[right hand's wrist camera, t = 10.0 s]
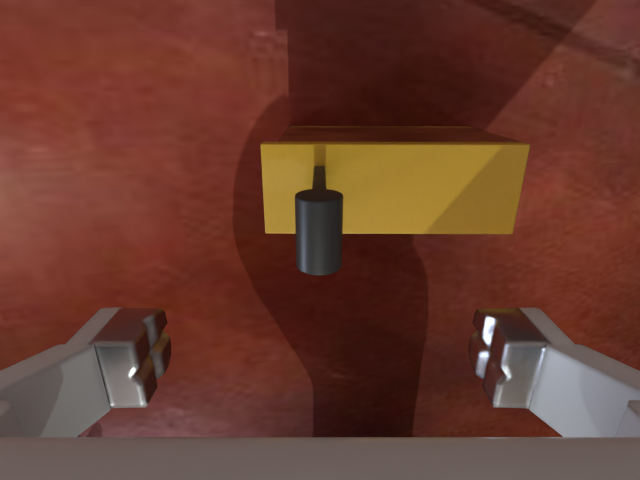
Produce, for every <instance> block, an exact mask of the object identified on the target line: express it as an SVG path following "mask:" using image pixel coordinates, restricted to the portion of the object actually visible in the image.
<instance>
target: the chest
mask: <svg viewBox="0 0 640 480" xmlns="http://www.w3.org/2000/svg"><path fill="white" fill-rule="evenodd" d="M278 142H519V141H516V140H512V139H509V138H506V137H502V136H499V135H495V134H492V133H489V132H485V131H482V130H478V129H475V128H473V127H470V126H289V127H288V129H287V131H286V132H285V133H284V135H283V136H282V137H281V139H280V140H279V141H278Z"/></svg>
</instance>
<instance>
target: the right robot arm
mask: <svg viewBox="0 0 640 480" xmlns="http://www.w3.org/2000/svg"><path fill="white" fill-rule="evenodd" d="M166 324H167V319H166V315H165V312H164V311H163V310H162V309H160V308H102V309H100V310H99V311H98V312H97V313H96V314H95V315H94V316H93V317H92V318H91V319H90V320H89V321H88V322H87V323H86V324H85V325H84V326H83V327H82V328H81V329H80V330H79V331H78V332H77V333H76V334H75V335H74V336H73V337H72V338H71V339H70V340H69V341H68V342H67V343H66V344H65V345H56V346H54V347H52V348H50V349H48V350H45V351H43V352H41V353H39V354H37V355H34V356H32V357H30V358H28V359H25V360H23V361H21V362H19V363H17V364H14V365H12V366H10V367H8V368H6V369H3V370H1V371H0V480H640V371H639V370H637V369H634V368H632V367H630V366H628V365H625V364H623V363H621V362H619V361H617V360H614V359H612V358H610V357H608V356H606V355H603V354H601V353H599V352H597V351H595V350H592V349H590V348H588V347H586V346H584V345H575V344H574V343H573V342H572V341H571V340H570V339H569V338H568V337H567V336H566V335H565V334H564V333H563V332H562V331H561V330H560V329H559V328H558V327H557V326H556V325H555V324H554V323H553V322H552V321H551V320H550V319H549V318H548V317H547V316H546V315H545V314H544V312H543V311H542V310H541V309H538V308H536V307H532V308H503V309H477V310H476V312H475V314H474V319H473V324H474V326H475V327H476V329H477V331H476V332H475V333H474V334H473V335H472V336H471V337H470V343H469V357H470V362H471V365H472V368H473V370H474V372H475V374H477V375H478V376H480V377H481V378H483V379H484V381H483V389H484V390H485V392H486V394H487V396H488V398H489V399H490V401H491V403H492V405H493V407H510V408H530V409H529V410H530V411H532V412H533V413H534V414H535V415H537V416H538V417H539V418H541V419H542V420H543V421H544V422H546V423H547V424H548V425H549V426H551V427H552V428H553V429H554V430H556V431H557V432H558V433H559V434H561V435H562V436H563V437H77V436H78V435H79V434H81V433H82V432H83V431H84V430H86V429H87V428H88V427H90V426H91V425H92V424H93V423H95V422H96V421H97V420H98V419H100V418H101V417H102V416H103V415H105V414H106V413H107V412H108V411H110V408H129V407H147V405H148V403H149V401H150V400H151V398H152V396H153V394H154V392H155V390H156V389H157V381H156V379H157V378H159V377H160V376H162V375H163V374H165V372H166V370H167V368H168V366H169V361H170V357H171V342H170V337H169V336H168V335H167V334H166V333H165V332H164V331H163V329H164V328H165V326H166Z"/></svg>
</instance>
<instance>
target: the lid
mask: <svg viewBox="0 0 640 480" xmlns="http://www.w3.org/2000/svg"><path fill="white" fill-rule="evenodd" d="M529 149H530V145H529V144H526V143H523V142H262V143H261V163H262V182H263V200H264V218H265V233H296V266H297V268H298V269H299V270H300V271H302V272H304V273H307V274H311V275H327V274H332V273H334V272H336V271H338V270H339V269H340V268H341V266H342V234H512V233H513V228H514V223H515V218H516V213H517V208H518V203H519V198H520V194H521V189H522V184H523V179H524V174H525V169H526V164H527V159H528V154H529Z"/></svg>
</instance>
